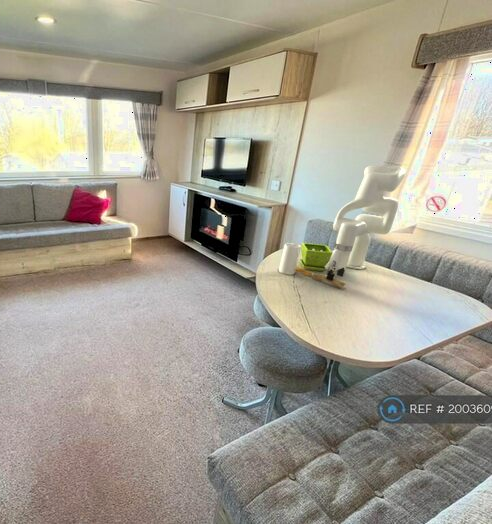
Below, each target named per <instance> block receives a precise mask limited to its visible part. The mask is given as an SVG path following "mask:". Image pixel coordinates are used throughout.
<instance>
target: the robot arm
mask: <svg viewBox="0 0 492 524" xmlns="http://www.w3.org/2000/svg"><path fill="white" fill-rule="evenodd" d="M405 176H406V169H405V168H404V167H399V166H391V165H390V166H388V165H376V164H375V165H367V166H366V167H365V168H364V171H363V178H362V181H361V183H360V186H359V188H358V190H357V192H356V195H355V197H354V199H353V200H351V201H349V202H347V203H346V204H344V205H343V206H342V207H341V208H340V209H339V210H338V212H337V214H336V217H335V218H334V221H333V224H332V229H333V231H334V232H337V236H336V239H335V244H334V248H333V250H332V252H333V253H332V255H331V258H330V261H329V262H328V264H327V274H326V275H327V277H326V279H328V280H330V281H333V278H335V275H336V276H338V277H341V278H343V277H344V274H345V271H346V269H347V268H349V269H354V270H364V269H365V268H366V265H365V263H364V262H365V261H366V256H367V253H368V250H369V247H370V244H371V240H372V237H371V235H370V233H371V234H372V233H373V234H379V235H387V234H389V233H390V231H391V230H392V226H393V224H394V221H395V217H396V215H397V212H398V209H399V201H398V199H396V198H393V197H386V196H385V193H386V192H387V193H392V192H394V191H395V190H397V189H398V187H399V186H400V185H401V183H402V182H403V180H404V178H405ZM357 209H358V210H359V209H361V210H362V211H363V212H365V213H361V214H358V215H357V216H356V217H355V219H352V218H347V217H345V216H346V214H348V213H349V212H352V211H354V210H357ZM374 214H375V215H374Z"/></svg>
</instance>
